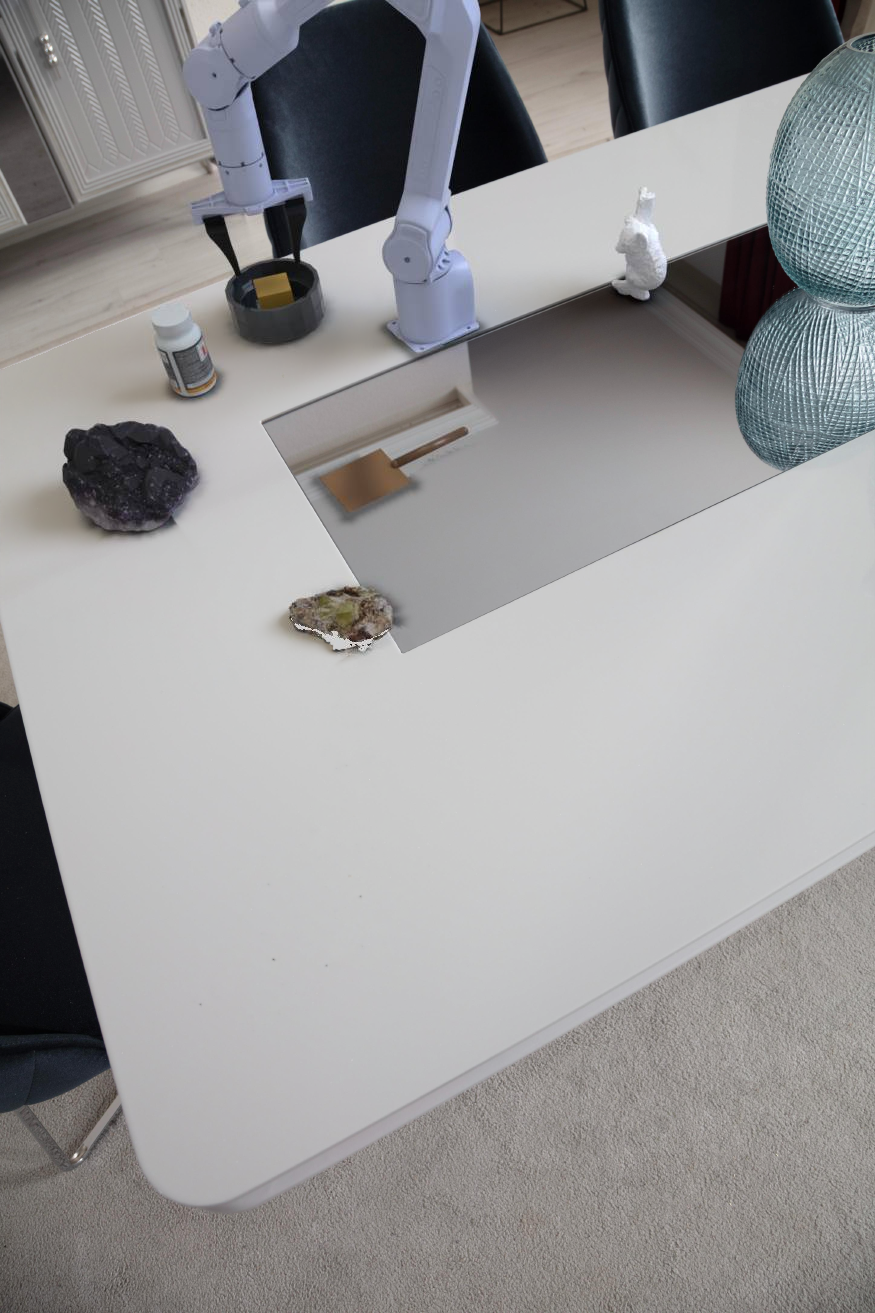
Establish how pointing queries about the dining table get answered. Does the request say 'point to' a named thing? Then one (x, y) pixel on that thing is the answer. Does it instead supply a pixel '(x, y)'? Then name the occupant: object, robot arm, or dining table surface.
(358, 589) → the mineral rock
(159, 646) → the dining table surface
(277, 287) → the yellow cube block
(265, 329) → the grey round bowl
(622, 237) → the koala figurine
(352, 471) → the wooden spatula
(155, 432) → the crystal cluster
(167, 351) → the pill bottle
